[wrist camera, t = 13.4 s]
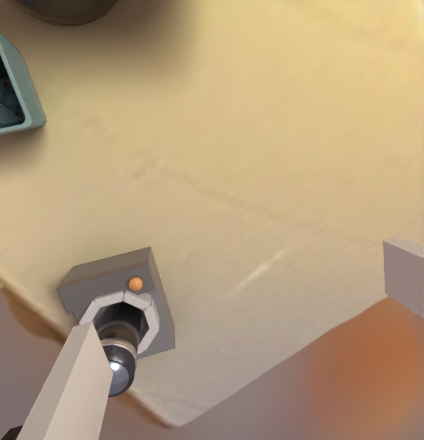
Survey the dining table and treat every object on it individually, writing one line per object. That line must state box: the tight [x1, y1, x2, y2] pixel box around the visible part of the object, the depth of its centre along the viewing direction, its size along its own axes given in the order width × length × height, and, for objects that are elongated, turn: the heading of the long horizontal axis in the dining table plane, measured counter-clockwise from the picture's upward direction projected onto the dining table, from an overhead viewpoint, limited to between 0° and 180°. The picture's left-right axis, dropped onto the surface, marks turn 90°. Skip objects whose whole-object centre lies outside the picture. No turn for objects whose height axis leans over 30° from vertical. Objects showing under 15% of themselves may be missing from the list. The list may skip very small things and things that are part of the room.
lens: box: [97, 301, 142, 397], centre depth 32 cm, size 5×5×10 cm
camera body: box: [57, 247, 175, 359], centre depth 39 cm, size 14×11×7 cm
